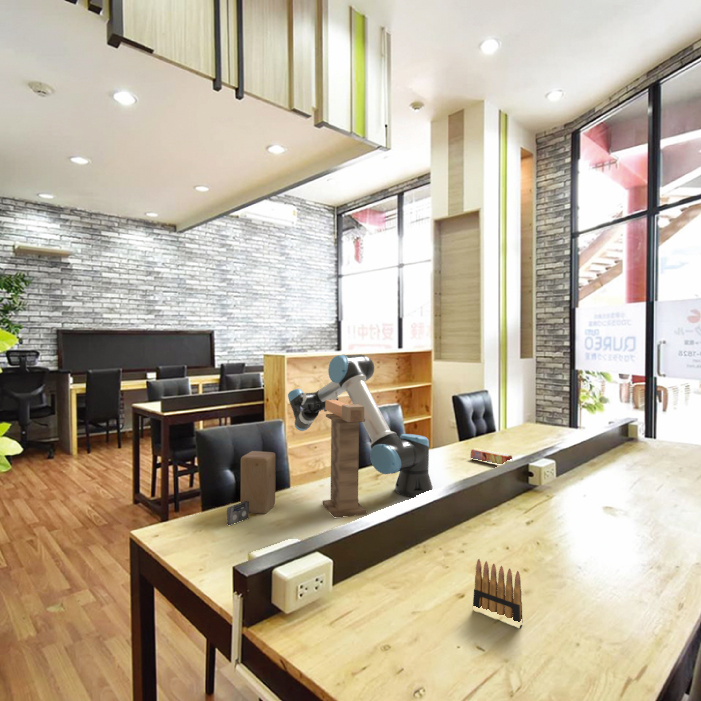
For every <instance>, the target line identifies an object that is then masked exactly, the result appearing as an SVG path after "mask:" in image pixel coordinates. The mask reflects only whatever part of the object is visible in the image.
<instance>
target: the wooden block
mask: <svg viewBox="0 0 701 701" xmlns="http://www.w3.org/2000/svg"><path fill="white" fill-rule="evenodd" d="M244 501H249V514H250V513H253V514H260V515H261V514H263V515H264V514H267V513H268V512H269V511H270V510H271V509H272V508H274V506H275V505H276V452H272V451H261V450H259V451H258V450H251V451H249V452H248V453H246V454H244V455H242V456H241V458H240V503H241V502H244Z"/></svg>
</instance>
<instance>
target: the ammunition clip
mask: <svg viewBox="0 0 701 701" xmlns="http://www.w3.org/2000/svg"><path fill="white" fill-rule="evenodd" d="M489 568H490V567H489V564H488V561H487V560H486V561H485V562H484V565H483V571H482V562H481V560H480V558H478V559H477V561H476V564H475V575H474V589H473V600H472V603H473V604H472V607H473V606H476V607H478V608H480V607H481V606H482V608H483V609H486V610H487V609H489V610H490V611H491V612H497V614H499V615H504V614H505V616H506V617H507V618H512V617H513V620H514V621H518V622H520V621H521V619H522V620H523V602H522V586H521V584H522V583H521V582H522V581H521V575H520V571H519V570H517V571H516V574H515V576H514V587H513V573H512V570H511V568H508V570H507V573H506V582H505V571H504V567H503V566H502V565H501V566H500V567H499V571H498V577H497V568H496V564H495V563H493V564H492V565H491V570H489ZM482 572H483V574H482ZM497 579H498V580H497Z"/></svg>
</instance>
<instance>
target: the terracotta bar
mask: <svg viewBox="0 0 701 701" xmlns="http://www.w3.org/2000/svg"><path fill="white" fill-rule="evenodd" d="M325 410H327V411H326V412H329V413H330V414H335V415H337V416H339V417H341V418H342V419H343V420H345V421H347V422H358V421H364V406H361V405H359V404H353V403H352V404H348V403H345V402H342V401H341V400H339V399H338V400H335V399H334V400H325Z"/></svg>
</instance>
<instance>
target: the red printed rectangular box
mask: <svg viewBox="0 0 701 701" xmlns="http://www.w3.org/2000/svg"><path fill="white" fill-rule="evenodd" d="M471 458H473V459H478V460H482V461H487V462H492V463H497V464H503V463H504V462H506V461H507V460H510V459H512V460H513V456H512V455H511V454H509V453H504V452H497V451H493V450H488V449H483V448H477V447H475V448H472V449H471V450H470V459H471Z"/></svg>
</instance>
